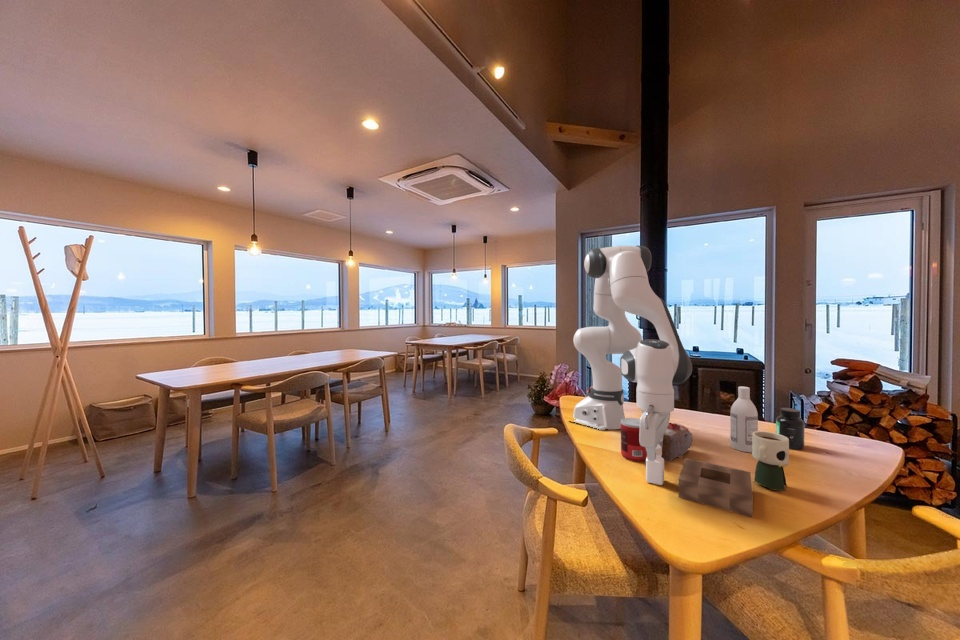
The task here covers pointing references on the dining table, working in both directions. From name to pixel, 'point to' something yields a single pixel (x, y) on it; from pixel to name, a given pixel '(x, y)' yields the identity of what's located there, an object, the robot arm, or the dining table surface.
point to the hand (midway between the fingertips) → (655, 453)
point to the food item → (675, 441)
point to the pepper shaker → (655, 468)
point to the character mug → (770, 458)
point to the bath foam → (743, 421)
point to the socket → (717, 486)
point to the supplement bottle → (791, 427)
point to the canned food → (632, 440)
